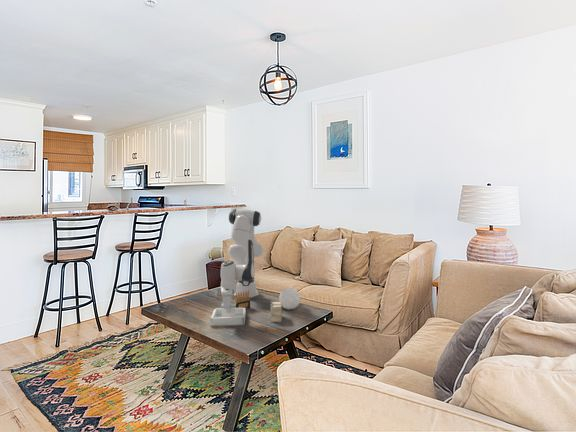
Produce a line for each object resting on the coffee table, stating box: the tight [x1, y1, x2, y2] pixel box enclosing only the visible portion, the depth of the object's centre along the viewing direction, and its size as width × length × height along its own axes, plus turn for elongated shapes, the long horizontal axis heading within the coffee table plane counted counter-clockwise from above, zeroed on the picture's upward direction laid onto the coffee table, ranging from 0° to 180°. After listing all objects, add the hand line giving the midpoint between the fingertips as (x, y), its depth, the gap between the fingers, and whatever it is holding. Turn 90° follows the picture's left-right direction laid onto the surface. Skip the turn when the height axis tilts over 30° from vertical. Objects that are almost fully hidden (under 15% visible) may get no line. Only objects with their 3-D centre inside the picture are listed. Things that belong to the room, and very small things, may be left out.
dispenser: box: [270, 300, 282, 323], centre depth 212 cm, size 9×6×10 cm
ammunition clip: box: [234, 290, 251, 310], centre depth 231 cm, size 11×2×12 cm, turn 127°
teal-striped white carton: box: [221, 302, 236, 317], centre depth 210 cm, size 3×8×7 cm, turn 94°
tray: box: [210, 307, 247, 327], centre depth 210 cm, size 17×19×5 cm
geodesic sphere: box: [278, 287, 301, 311], centre depth 231 cm, size 15×14×14 cm
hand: (228, 311), depth 210 cm, fingers closed on teal-striped white carton, 3 cm apart
